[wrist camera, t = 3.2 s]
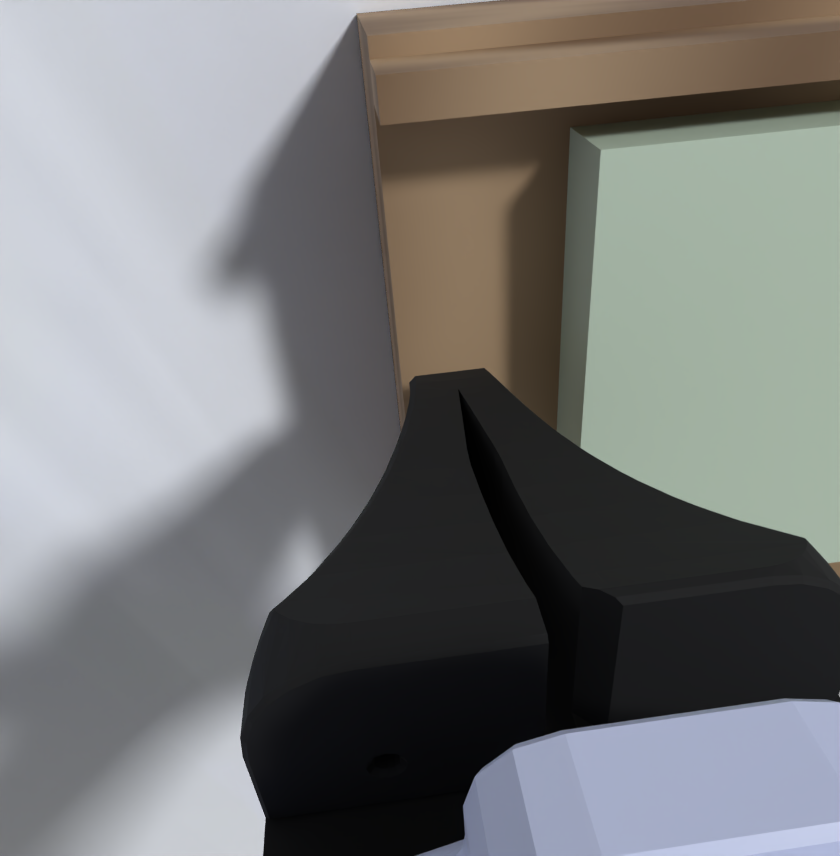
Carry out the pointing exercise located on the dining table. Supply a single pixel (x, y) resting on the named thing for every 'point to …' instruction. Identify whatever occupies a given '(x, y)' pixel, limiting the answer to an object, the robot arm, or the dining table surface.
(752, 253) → the cover plate
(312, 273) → the dining table surface
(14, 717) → the dining table surface
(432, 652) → the robot arm
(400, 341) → the walnut box
